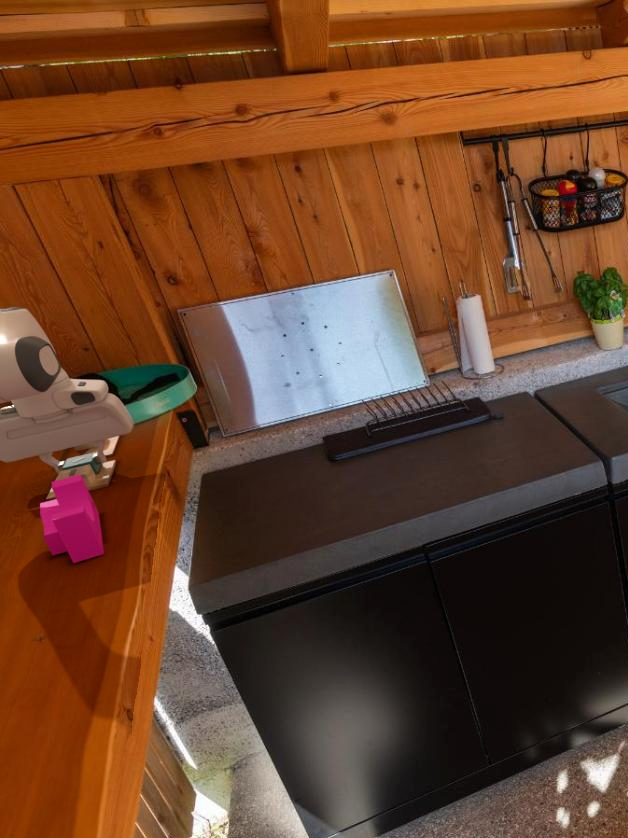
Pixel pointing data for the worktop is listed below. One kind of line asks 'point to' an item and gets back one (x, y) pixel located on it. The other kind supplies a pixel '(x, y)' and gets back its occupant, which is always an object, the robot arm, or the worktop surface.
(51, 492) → the beige base plate
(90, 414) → the robot arm
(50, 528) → the toy block
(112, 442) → the beige flat stepped block
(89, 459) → the teal slotted box
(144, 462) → the worktop surface
